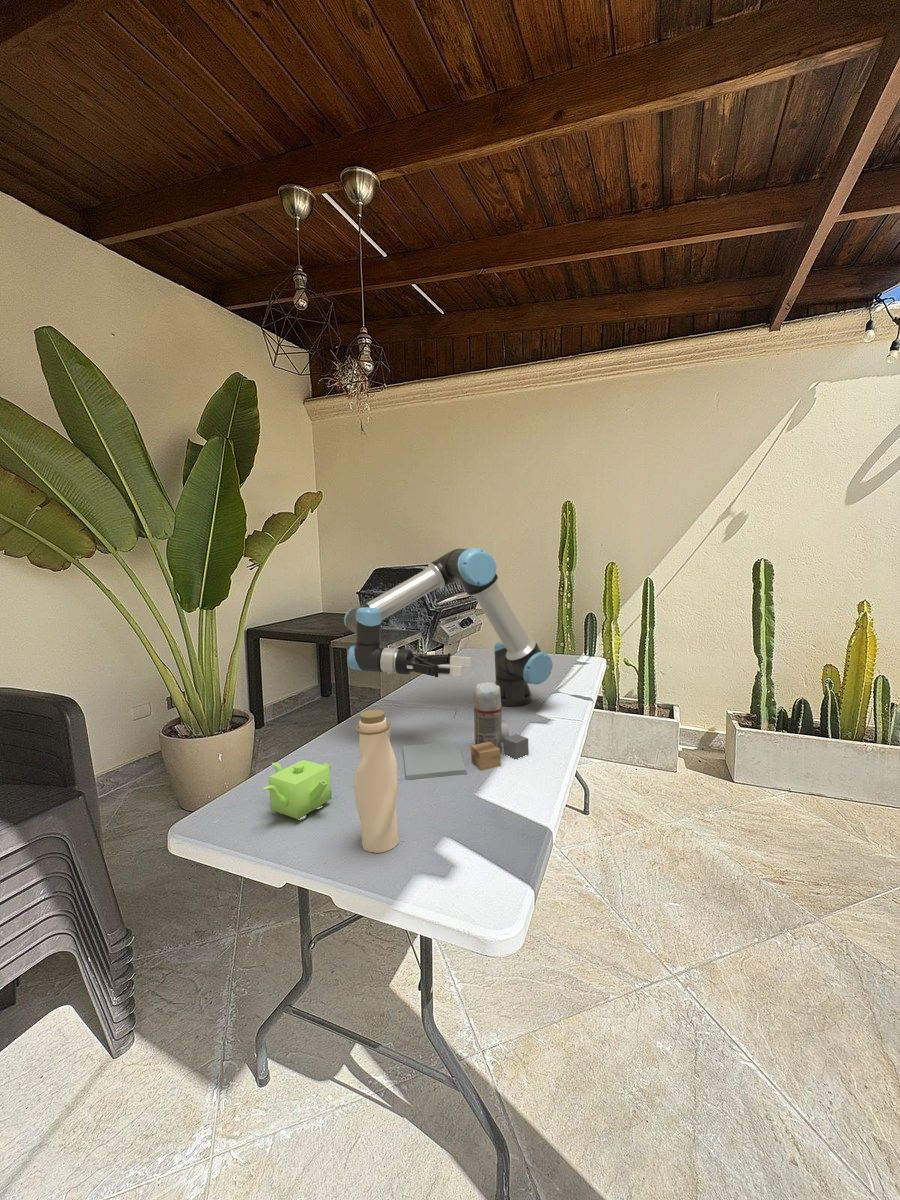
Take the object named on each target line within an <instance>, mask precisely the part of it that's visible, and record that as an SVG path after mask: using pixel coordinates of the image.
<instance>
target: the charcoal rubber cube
mask: <svg viewBox="0 0 900 1200" xmlns="http://www.w3.org/2000/svg"><path fill="white" fill-rule="evenodd" d="M502 744H503V755H504V754H505V755H504V756H506V755H508V756H510V757H512V758H511V759H513V758H514V759H513V760H515V759H517V760H519V759H518V758H520V757H522V758H524V757H523V756H525V755H527V756H529V755H528V754H529V753H530V752H529V738H528V737H525V736H523V735H520V734H518V733H514V734H511V735H509V736H508V737H506V738H503V742H502ZM508 756H507V757H508ZM510 757H509V758H510ZM525 757H526V756H525ZM520 759H521V758H520Z"/></svg>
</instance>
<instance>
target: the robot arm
mask: <svg viewBox="0 0 900 1200" xmlns="http://www.w3.org/2000/svg"><path fill="white" fill-rule="evenodd" d="M496 570H497V565H496V561H495V559H494V556H492V555H491V554H490V552H488V551H486V550H484V549H482V548H481V549H480V548H477V547H474V548H473V547H472V548H456V549H452V550H451V551H449V552H447V553H444V554H443V555H442V556H439V557H438V558H437V559H435V560H433V561H431V562H430V563H429V564H428V566H427V568H425V569H424V570H421V571H420V572H418V573H417V574H415V575H413V576H412V577H410V578H408V579H406V580H405V581H402V582H401V583H399V584H398V585H396V586H394V587H393V588H391V589H389V590H387V591H386V592H384V593H382V594H380V595H379V596H377V597H374V598H373V599H371V600H370V601H368V602H366V603H364V604H362V605H361V606H359V607H358V608H355V607H354V608H351V609H349V610H347V612H346V613H345V615H344V617H343V623H344V626H345V627H346V628H347V630H349V631H350V632H351V633H354V634H355V645H352V646H350V647H349V649H348V651H347V656H346V661H347V666H348V668H349V669H351V670H354V671H355V670H356V671H361V672H374V673H375V672H376V673H387V675H388V676H389V675H391V674H396V673H397V674H398V675H410V673H412V672H414V673H418V674H423V675H427V676H431V677H434V678H439V675H441V676H442V675H443V676H450V677H451V676H454V677H455V676H456V677H462V676H463V667H472V657H471V656H469V657H468V656H456V655H452V653H451V652H449V653H448V654H422V653H421V654H418V655H417V656H414V654H413V653H414V652H413V651H412V650H411V649H408V648H407V649H405V648H400V649H399V648H397V647H396V648H393V647H381V635H382V621H383V620H385V619H387V618H389V617H391V616H392V615H395V613H397V612H399V611H401V610H402V609H404V608H405V607H408V605H410V604H412V603H414V602H416V601H417V600H419V599H420V598H422V597H424V596H426V595H428V594H430V592H431V593H432V592H433V591H435V590H436V589H437V588H441V589H443V588H445V587H446V586H447V587H448V585H451V584H454V583H460V584H461V586H462V588H463V589H464V590H465V592H466V594H467V595H468V596H470V597H474V598H475V599H476V602H477V603H478V605H479V606H480V608H481V610H482V611H483V613H484V614H485V616H486V618H487V619H488V621H489V623H490V625H491V626H492V628H493V629H494V632H496V634H497V636H498V639H500V640H501V641H498V642H495V645H494V650H493V651H494V653H493V654H494V670H495V671H494V672H495V674H494V675H495V682H494V683H495V684H496V685H498V686H499V687H500V693H501V705H502V707H519V706H525V705H528V704H530V703H531V702H532V701H533V700H532V698H533V697H532V691H531V689H530V687H529V685H531V684H532V685H534V686H535V685H541V684H543V683H544V682H546V681H547V680H548V678H549V677H550V676H551V673H552V670H553V660H552V657H551V656H550V655H549V654H548V653H546V652H545V651H542V650H541V648H540V647H539V644H538V643H537V642H536V640H535V639H534V638H530V637H528V634H527V633H526V631H525V630H524V628H523V627H522V624H521V623H520V621H519V619H518V617H517V616H516V615H515V612H514V611H513V610H512V608H511V607H512V606H511V605H510V604H509V602H508V601H507V599H506V597H505V595H504V594H503V592H502V591H501V588H500V587H499V585H498V584H497V583H498V579H499V576H498V574H497V572H496Z"/></svg>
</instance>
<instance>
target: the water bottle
mask: <svg viewBox="0 0 900 1200" xmlns="http://www.w3.org/2000/svg"><path fill="white" fill-rule="evenodd" d="M359 715H360V716H359V717H360V718H359V719H360V720H358V721H359V722H358V724H357V725H355V728H354V730H355V732H356V733H357V734H359V745H358V748H359V749H358V750H359V756H360V760H361V761H360V763H359V764H358V766H357V769H356V770H355V774H354V778H353V779H354V781H353V789H354V799H355V800H354V801H355V806H356V810H357V814H358V817H359V821H360V824H361V825H360V826H361V846H363V847H362V848H363V849H364V851H366V850H367V851H366V852H369V853H372V852H374V853H373V854H380V853H385V852H388V851H390V850H392V849H393V848H395V847H396V846H397V845H398V844H399V841H400V839H399V838H400V837H399V824H398V814H397V813H398V812H397V808H396V803H397V797H398V789H399V780H398V779H399V778H398V764H397V758H396V755H395V752H394V749H393V746H392V744H391V721H390V720H387V718H386V717H385V711H384V710H380V709H370V710H364V711H362V712H361V713H360V714H359Z"/></svg>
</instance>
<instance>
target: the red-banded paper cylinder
mask: <svg viewBox="0 0 900 1200" xmlns="http://www.w3.org/2000/svg"><path fill="white" fill-rule="evenodd" d="M473 703H474V704H473V706H474V707H473V719H474V720H473V722H474V728H473V729H474V733H473V734H474V745H476V744H481V743H486V742H491V743H493V744H494V745H495V746H497V747H498V748H499V749H500V752H501V751H502V742H501V723H502V722H501V721H502V720H503V718H502V715H503V714H502V707H503V706H502V705H501V693H500V687H499V686H498V685H496V684H495V682H493V681H486V682H482V683H477V684H476V685H475V688H474V699H473Z"/></svg>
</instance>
